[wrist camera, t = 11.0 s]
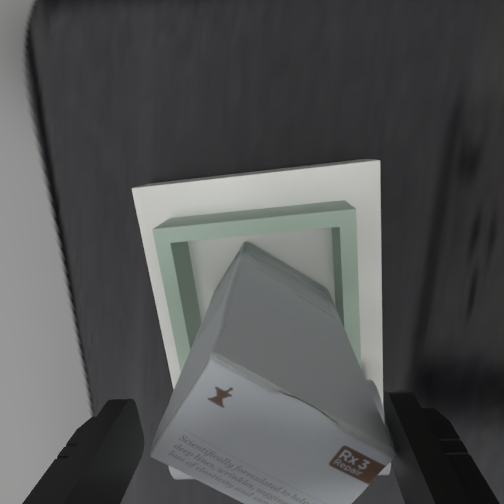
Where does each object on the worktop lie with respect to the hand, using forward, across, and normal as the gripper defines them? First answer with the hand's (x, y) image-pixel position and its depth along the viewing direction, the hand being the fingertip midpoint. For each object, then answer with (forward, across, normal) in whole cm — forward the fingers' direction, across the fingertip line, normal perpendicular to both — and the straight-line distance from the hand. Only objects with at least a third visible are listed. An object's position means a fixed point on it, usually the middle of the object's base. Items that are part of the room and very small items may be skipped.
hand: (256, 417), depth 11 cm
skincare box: (+11, 0, 0) cm, 11 cm away
